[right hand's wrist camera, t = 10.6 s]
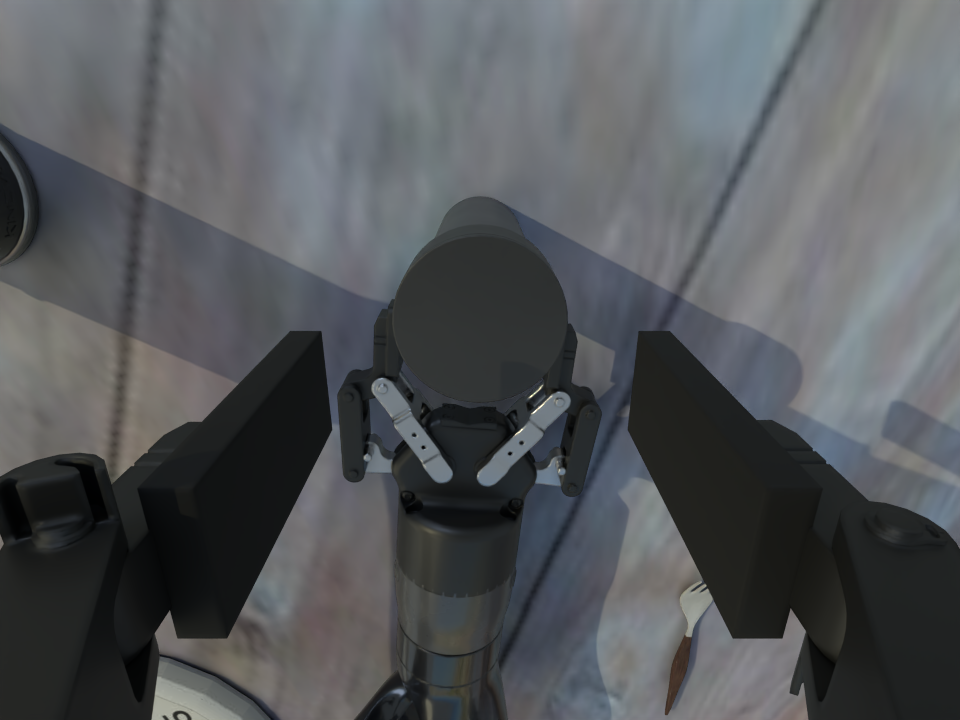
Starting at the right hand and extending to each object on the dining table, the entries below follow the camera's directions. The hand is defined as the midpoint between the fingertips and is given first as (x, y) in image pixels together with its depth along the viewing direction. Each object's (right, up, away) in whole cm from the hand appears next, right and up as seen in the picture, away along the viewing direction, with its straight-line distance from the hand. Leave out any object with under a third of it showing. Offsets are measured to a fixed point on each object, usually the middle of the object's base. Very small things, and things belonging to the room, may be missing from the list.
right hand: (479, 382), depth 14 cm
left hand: (0, +3, +15) cm, 16 cm away
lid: (0, +2, +5) cm, 5 cm away
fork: (+16, -22, +31) cm, 42 cm away
